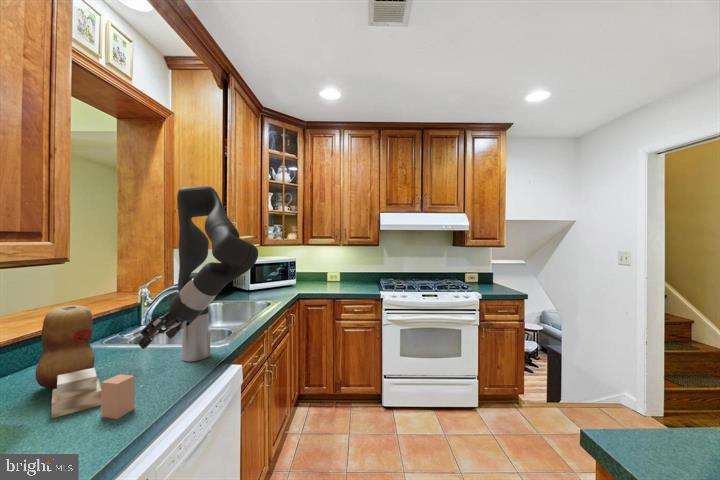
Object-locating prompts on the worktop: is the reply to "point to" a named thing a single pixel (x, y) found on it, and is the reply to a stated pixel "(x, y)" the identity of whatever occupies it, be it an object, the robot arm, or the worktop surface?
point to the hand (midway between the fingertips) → (155, 340)
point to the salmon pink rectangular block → (117, 396)
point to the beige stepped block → (76, 392)
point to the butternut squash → (65, 344)
